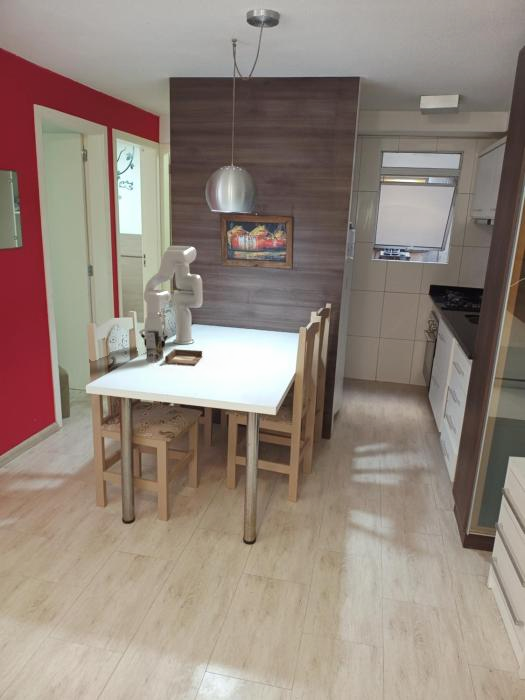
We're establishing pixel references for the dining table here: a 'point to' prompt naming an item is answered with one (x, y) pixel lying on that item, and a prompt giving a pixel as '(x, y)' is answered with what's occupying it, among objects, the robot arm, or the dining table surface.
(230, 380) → the dining table surface
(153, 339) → the coffee box
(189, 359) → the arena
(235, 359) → the dining table surface
